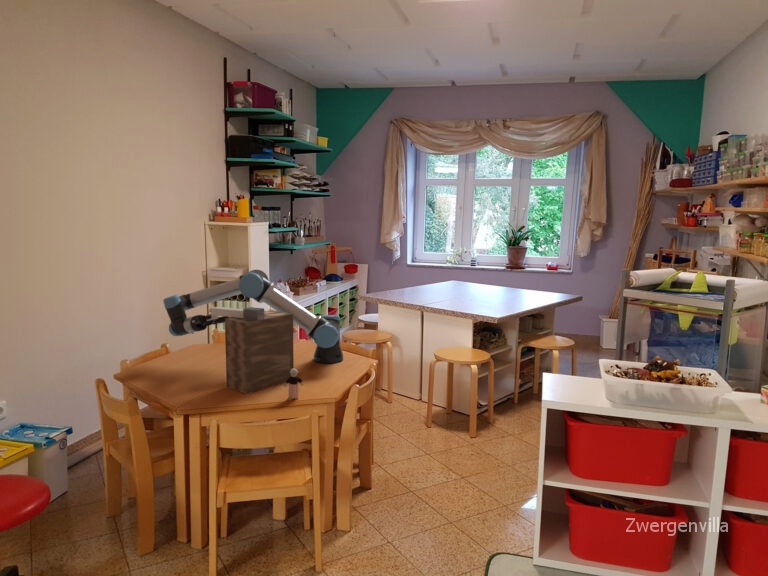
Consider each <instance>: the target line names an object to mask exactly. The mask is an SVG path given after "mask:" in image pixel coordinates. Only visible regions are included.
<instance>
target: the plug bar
mask: <svg viewBox="0 0 768 576" xmlns="http://www.w3.org/2000/svg"><path fill="white" fill-rule="evenodd" d="M208 310H209V314H212V315H218V317H224V316H228V317H238V318H245V319H255V320H259V319H262V318H264V311H265V308H263V307H253V306H251V307H247V308H238V307H237V308H234V307H226V306H224V307H223V306H214V307H211V308H209V309H208Z"/></svg>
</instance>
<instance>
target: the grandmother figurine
mask: <svg viewBox="0 0 768 576" xmlns="http://www.w3.org/2000/svg"><path fill="white" fill-rule="evenodd" d="M290 374H291V376H292V377H289V378H288V379H287V381H286V382H284V387H285V388H286V387H287V386H288V397H287V398H286V399H287V401H288V400H289V401H291V400H299V384H300V385H301V386H304V382H303V379H302V378H300V377H299V376H298V374H299V371H298V369H296V368H295V367H294V368H293V369H291V370H290ZM288 384H289V385H288Z"/></svg>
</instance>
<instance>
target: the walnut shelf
mask: <svg viewBox="0 0 768 576" xmlns="http://www.w3.org/2000/svg"><path fill="white" fill-rule="evenodd" d="M224 335H225V338H224V339H225V372H226V373H225V374H226V375H225V376H226V377H225V378H226V388H228V387H229V388H228V389H231V388H232V389H233V390H235V391H238V390H239V391H238V392H241V391H242V392H241V393H244V392H245V394H247V395H248V393H249V394H251V392H252V393H254V392H255V393H256V392H257V391H260V390H264V389H266V388H270V386H271V387H273V385H274V386H276V385H279V384H282V383H283V384H284V383H285V382H286V381H287V379H288V378H289V377H292V376H291V374H290V370H291V369H293V368H295V367H294V366H295V365H294V359H295V358H294V322H293V314H291V313H285V312H279V311H276V310H275V309H271V310H264V318H262V319H259V320H255V319H245V318H238V317H230V318H225V323H224ZM263 388H264V389H263Z"/></svg>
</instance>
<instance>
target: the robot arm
mask: <svg viewBox="0 0 768 576" xmlns="http://www.w3.org/2000/svg"><path fill="white" fill-rule="evenodd" d="M241 294H242V295H243V296H245V297H246V298H249V299H252V300H254V301H256V302H257V303H259V304H262V303H265V304H266V305H267V306H269V307H271V308H272V310H274V311H279V312H285V313H291V314H293V324H295V325H297V326H298V327H300V328H301V329H303V330H304V331H305V332H306V336H307V337H309V338H310V339H311V340H313V341H314V343H315V344H316V348H315V351H314V353H313V360H314V362H317V363H320V364H335V362H336V363H339V361H340V362H342V361H343V360H344V352H343V350H342V347H341V318H340V317H341V316H339V315H335V314H321V315H316V314H314V313H312V312H311V311H309V310H308V309H307V308H305V307H304V306H302V305H300V304H299V302H298V303H297V302H296V301H295V300H293V299H292V298H290V297H289V296H288V295H286V294H285V293H283V292H281V290H279V289H277V288H276V287H275V283H274V282H272V281H271V280H270V279H269V277H268V275H267V274H266V273H265V272H264V271H263V270H261V269H253V270H250V271H247V272H246V273H244V274H241V275H239V276H238V278H236V279H233V280H229V281H226V282H222V283H220V284H215V285H211V286H209V287H206V288H203V289H200V290H197V291H192V292H191V293H187V294H181V295H178V294H173V295H170V296H168V297H165V298H164V299H163V305H164V308H165V311H166V312H167V315H168V317H169V319H170V323H169V324H168V325H169V326H168V332H169V333H170V335H172V336H173V337H179V336H180V337H181V336H182V337H183V336H186V335H189V334H192V335H194V334H195V333H197V332H201V331H205V330H206V329H207V328H208V326H211V325H215V326H216V325H218V324H223V323H224V324H225V318H230V317H228V316H218V315H212V313H208V314H205V315H203V314H197V315H193V316H187V314H186V311H188V310H192V309H196V308H197V307H202V306H205V305H207V304H211V303H214V302H217V301H221V300H224V299H227V298H231V297H233V296H234V297H235V296H237V295H241Z"/></svg>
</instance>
